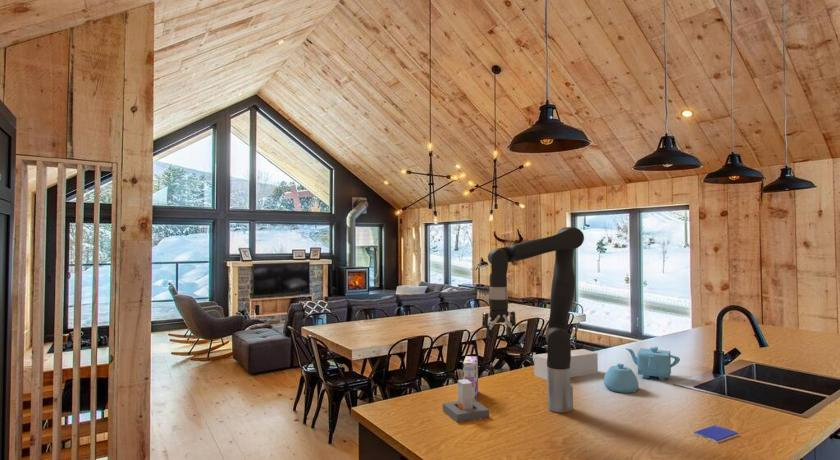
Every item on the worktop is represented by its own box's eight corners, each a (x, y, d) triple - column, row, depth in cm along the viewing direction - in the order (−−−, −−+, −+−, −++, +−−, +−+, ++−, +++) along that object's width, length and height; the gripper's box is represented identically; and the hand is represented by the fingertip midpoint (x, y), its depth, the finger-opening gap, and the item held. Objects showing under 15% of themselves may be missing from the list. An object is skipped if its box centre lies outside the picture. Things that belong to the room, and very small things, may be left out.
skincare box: (457, 409, 187) (457, 379, 188) (467, 408, 189) (467, 378, 189) (463, 414, 182) (462, 383, 182) (473, 413, 183) (472, 382, 183)
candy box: (476, 401, 200) (475, 363, 200) (462, 400, 201) (462, 362, 201) (478, 391, 213) (477, 355, 214) (466, 391, 214) (465, 355, 215)
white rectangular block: (547, 381, 229) (546, 359, 229) (534, 375, 239) (534, 354, 239) (598, 373, 240) (597, 353, 241) (583, 368, 250) (583, 348, 251)
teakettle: (684, 380, 225) (683, 350, 226) (651, 383, 221) (650, 352, 222) (656, 370, 244) (655, 342, 244) (625, 373, 239) (624, 344, 240)
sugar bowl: (631, 384, 221) (631, 360, 221) (644, 394, 206) (643, 368, 206) (599, 383, 222) (599, 359, 223) (609, 393, 207) (608, 368, 208)
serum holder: (473, 405, 194) (473, 398, 194) (489, 417, 181) (489, 409, 181) (442, 410, 189) (442, 403, 189) (457, 422, 176) (456, 414, 176)
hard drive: (714, 424, 168) (693, 431, 162) (738, 432, 161) (717, 439, 155) (714, 428, 168) (693, 435, 162) (738, 436, 161) (717, 444, 155)
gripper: (487, 299, 182) (488, 340, 181) (518, 297, 187) (519, 337, 186) (478, 297, 189) (479, 337, 188) (508, 296, 194) (509, 334, 193)
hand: (499, 337), depth 187 cm, fingers open, 8 cm apart
